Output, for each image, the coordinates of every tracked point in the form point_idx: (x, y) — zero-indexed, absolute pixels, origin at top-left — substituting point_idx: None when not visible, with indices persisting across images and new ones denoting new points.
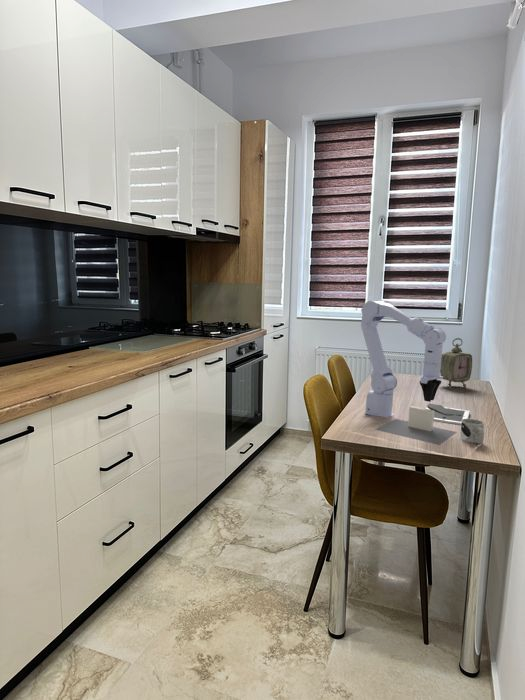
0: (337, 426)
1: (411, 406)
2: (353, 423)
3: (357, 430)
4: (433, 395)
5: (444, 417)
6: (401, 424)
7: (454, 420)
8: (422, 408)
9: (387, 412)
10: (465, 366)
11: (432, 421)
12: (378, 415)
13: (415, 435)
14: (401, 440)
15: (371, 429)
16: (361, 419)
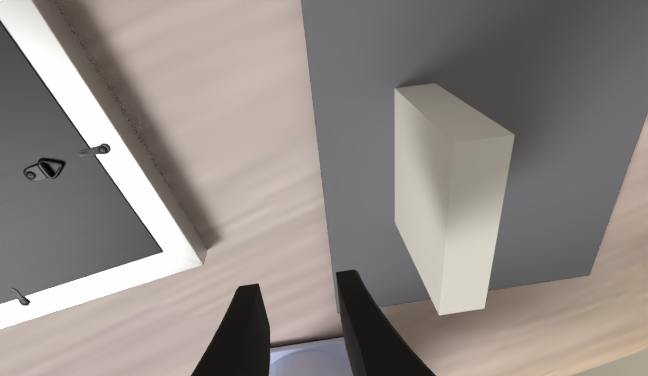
0: (598, 361)
1: (456, 309)
2: (521, 358)
3: (612, 305)
4: (251, 331)
5: (47, 168)
6: None
7: (31, 78)
8: (459, 238)
9: (329, 370)
10: None
11: (440, 104)
12: (351, 371)
13: (588, 103)
14: None
15: (564, 286)
16: (442, 373)
